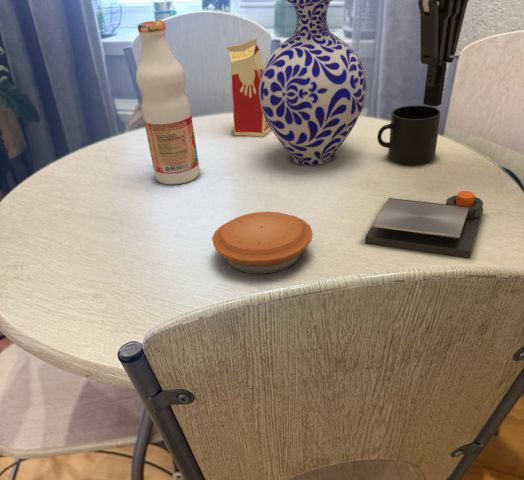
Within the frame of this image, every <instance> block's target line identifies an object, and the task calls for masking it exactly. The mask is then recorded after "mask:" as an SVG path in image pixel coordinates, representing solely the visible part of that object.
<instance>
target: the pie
mask: <svg viewBox="0 0 524 480" xmlns="http://www.w3.org/2000/svg"><path fill="white" fill-rule="evenodd" d="M313 236H314V232H313V230H312V228H311V225H310V224H309V223H307V222H306V221H305V220H304V219H301V218H300V217H298V216H295V215H292V214H288V213H282V212H278V211H256V212H251V213H246V214H243V215H240V216H237V217H235V218H233V219H231V220H229V221H227V222H225V223H224V224H222V225H221V226H220V227H219V228H216V230H215V231H214V232H213V236H212V238H211V240H212V245H213V247H214V248H215V250H216V252H217V253H218V254H219V255H221V256H222V257H224V259H225V260H226V261H227V262H228V263H229V265H231V267H233V268H234V269H236V270H238V271H240V272H243V273H248V274H255V275H261V274H264V275H265V274H272V273H277V272H280V271H282V270H285V269H288V268H289V267H291V266H292V265H293V264H295V263H296V261H297V260H298V259H299V258H300V256H301V254H302V253H303V252H304V251H305V249H306V247H307V246H309V244H311V242H312V240H313Z"/></svg>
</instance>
